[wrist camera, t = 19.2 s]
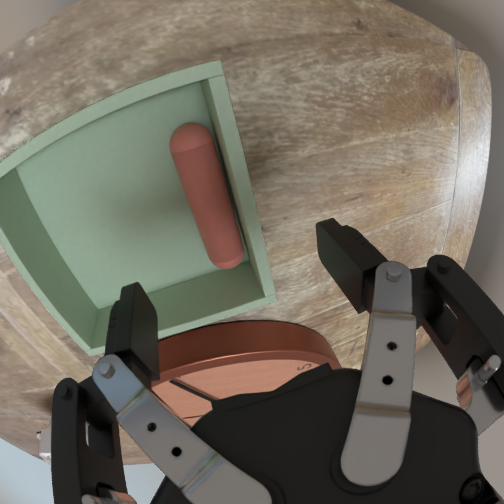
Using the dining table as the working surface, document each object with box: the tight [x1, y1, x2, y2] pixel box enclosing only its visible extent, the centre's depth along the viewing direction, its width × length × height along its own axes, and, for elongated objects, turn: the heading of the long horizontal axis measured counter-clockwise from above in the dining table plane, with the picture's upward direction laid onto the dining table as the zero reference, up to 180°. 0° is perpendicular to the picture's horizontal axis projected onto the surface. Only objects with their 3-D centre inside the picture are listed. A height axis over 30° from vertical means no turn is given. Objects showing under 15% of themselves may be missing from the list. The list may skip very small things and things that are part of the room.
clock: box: [118, 321, 342, 429], centre depth 34 cm, size 31×4×31 cm
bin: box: [0, 60, 277, 356], centre depth 16 cm, size 16×16×5 cm
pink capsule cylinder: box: [170, 123, 244, 269], centre depth 18 cm, size 11×3×3 cm, turn 12°
